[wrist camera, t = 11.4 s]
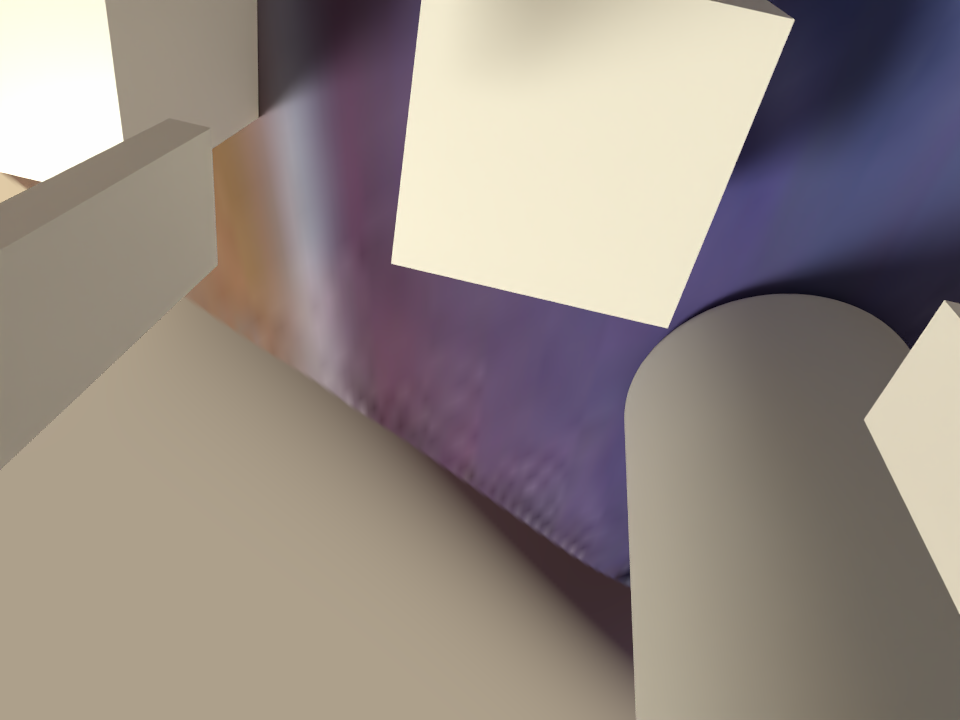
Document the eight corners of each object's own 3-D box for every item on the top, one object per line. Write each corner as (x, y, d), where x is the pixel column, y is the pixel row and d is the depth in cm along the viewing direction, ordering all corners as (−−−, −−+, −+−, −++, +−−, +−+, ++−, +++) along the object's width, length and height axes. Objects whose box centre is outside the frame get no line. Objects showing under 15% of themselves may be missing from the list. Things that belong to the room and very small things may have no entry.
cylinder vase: (569, 400, 33) (513, 1229, 13) (795, 225, 26) (1430, 1345, 6) (738, 535, 36) (908, 1358, 16) (974, 410, 30) (1761, 1519, 10)
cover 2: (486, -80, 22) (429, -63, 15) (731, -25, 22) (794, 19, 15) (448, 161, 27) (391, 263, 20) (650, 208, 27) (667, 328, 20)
